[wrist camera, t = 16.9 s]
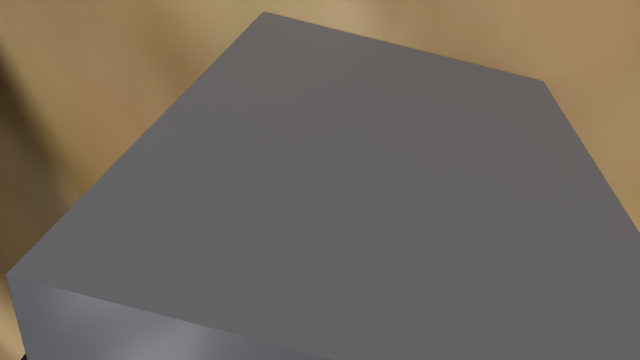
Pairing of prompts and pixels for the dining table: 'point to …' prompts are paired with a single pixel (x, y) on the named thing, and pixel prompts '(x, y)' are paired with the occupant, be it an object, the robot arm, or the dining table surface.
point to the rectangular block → (341, 220)
